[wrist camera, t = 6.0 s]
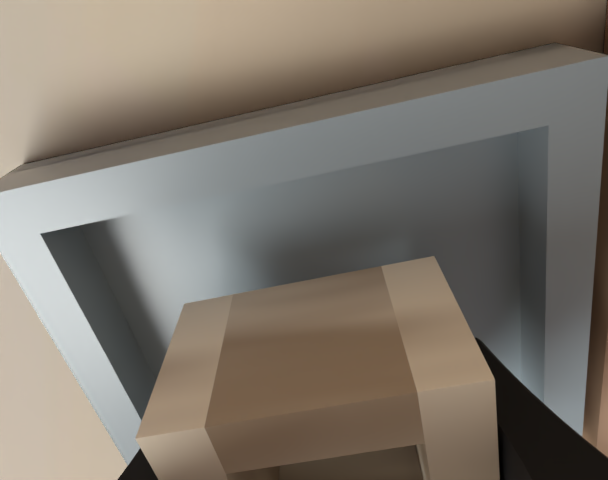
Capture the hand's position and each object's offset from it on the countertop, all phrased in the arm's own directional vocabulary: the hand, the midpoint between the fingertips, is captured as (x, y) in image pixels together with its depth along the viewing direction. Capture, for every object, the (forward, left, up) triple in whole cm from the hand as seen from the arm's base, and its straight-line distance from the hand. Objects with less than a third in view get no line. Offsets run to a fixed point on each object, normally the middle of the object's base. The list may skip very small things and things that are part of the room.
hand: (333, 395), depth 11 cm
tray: (0, 0, -3) cm, 3 cm away
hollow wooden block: (0, 0, -1) cm, 1 cm away
